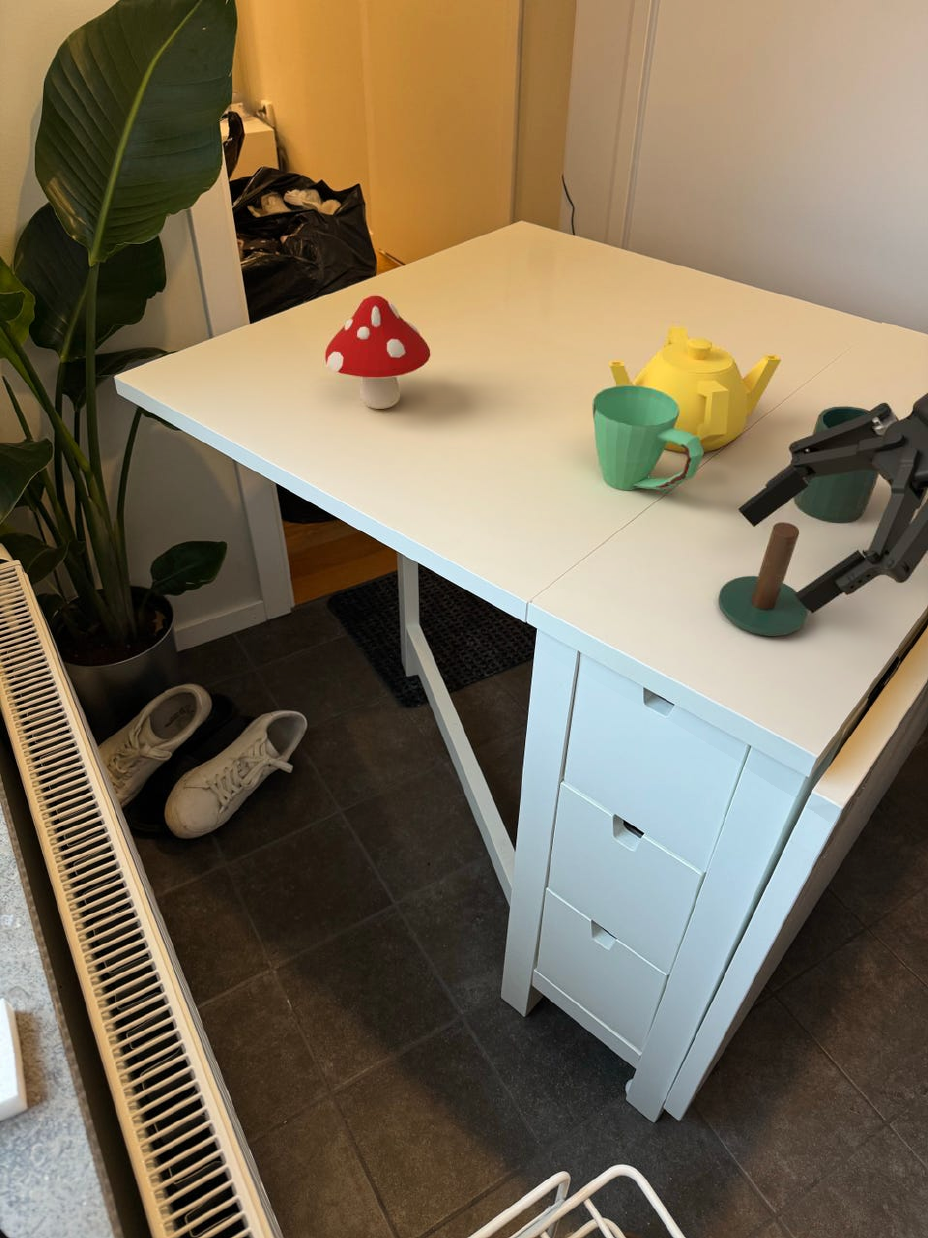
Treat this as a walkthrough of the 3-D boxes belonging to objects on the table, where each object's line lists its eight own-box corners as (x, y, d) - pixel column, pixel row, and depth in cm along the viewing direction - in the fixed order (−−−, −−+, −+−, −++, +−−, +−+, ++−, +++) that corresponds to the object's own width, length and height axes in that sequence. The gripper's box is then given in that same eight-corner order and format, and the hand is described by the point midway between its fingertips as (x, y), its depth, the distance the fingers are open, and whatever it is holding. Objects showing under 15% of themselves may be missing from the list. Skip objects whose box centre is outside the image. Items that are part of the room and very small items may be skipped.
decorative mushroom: (356, 440, 114) (347, 327, 104) (310, 396, 123) (298, 288, 113) (449, 413, 120) (450, 303, 110) (399, 373, 128) (396, 267, 119)
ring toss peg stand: (822, 623, 89) (854, 540, 82) (758, 651, 86) (785, 567, 79) (762, 575, 94) (787, 494, 88) (699, 600, 91) (720, 518, 85)
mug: (566, 476, 108) (575, 401, 102) (620, 449, 113) (632, 376, 107) (659, 530, 100) (675, 453, 94) (713, 500, 105) (732, 424, 99)
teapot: (659, 386, 127) (673, 303, 119) (769, 424, 119) (792, 338, 111) (596, 431, 117) (607, 344, 109) (711, 476, 109) (732, 385, 101)
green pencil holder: (879, 511, 104) (910, 431, 97) (829, 530, 101) (858, 449, 94) (827, 478, 109) (854, 400, 102) (779, 495, 106) (803, 415, 99)
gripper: (1086, 513, 71) (851, 665, 79) (920, 370, 89) (743, 506, 97) (1056, 459, 66) (811, 626, 74) (888, 321, 85) (706, 467, 93)
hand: (772, 558), depth 86 cm, fingers open, 13 cm apart
